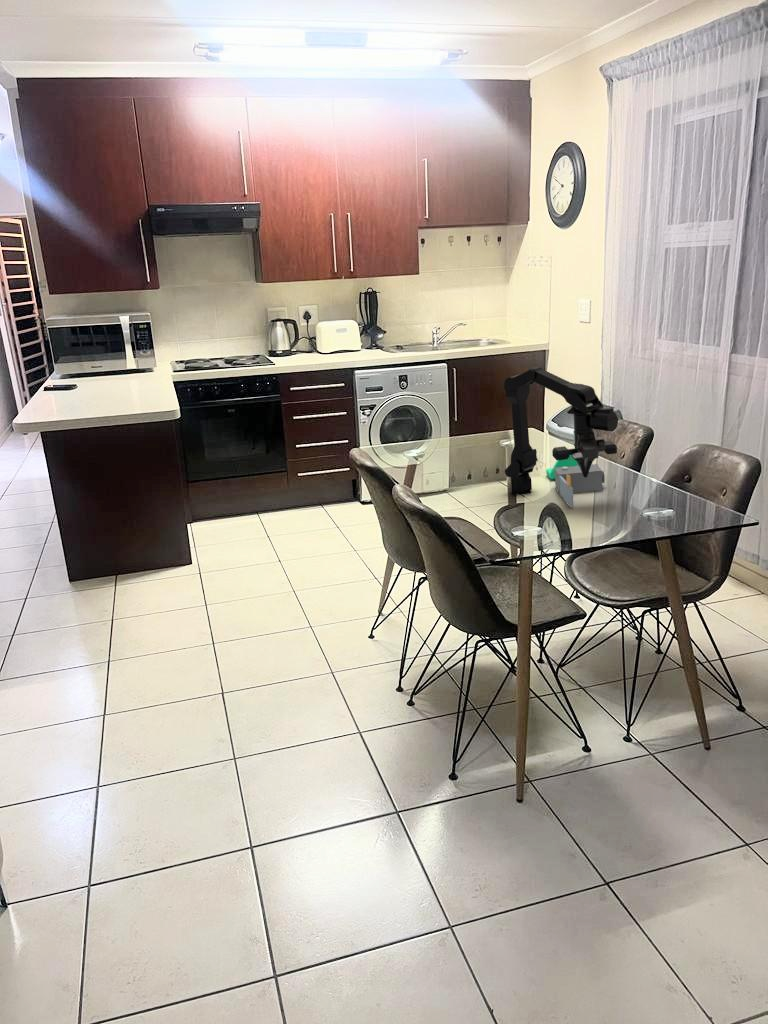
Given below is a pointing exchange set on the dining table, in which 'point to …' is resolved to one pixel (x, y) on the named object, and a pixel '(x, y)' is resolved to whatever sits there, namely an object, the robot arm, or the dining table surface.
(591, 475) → the camera body
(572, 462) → the camera mount
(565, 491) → the side door
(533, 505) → the dining table surface
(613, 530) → the dining table surface
